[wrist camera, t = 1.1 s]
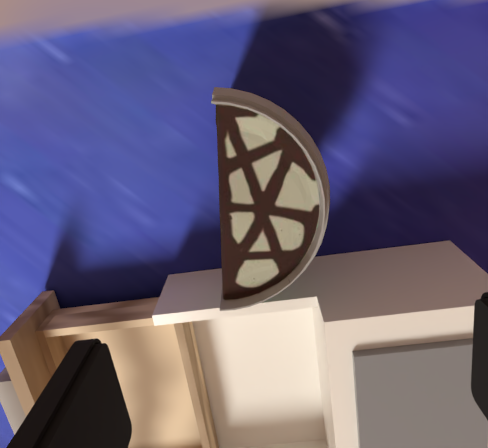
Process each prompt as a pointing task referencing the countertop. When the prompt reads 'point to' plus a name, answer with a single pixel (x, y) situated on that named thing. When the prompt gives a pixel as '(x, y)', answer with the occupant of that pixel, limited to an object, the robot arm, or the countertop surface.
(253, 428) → the dock
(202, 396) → the sliding tray
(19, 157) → the countertop surface
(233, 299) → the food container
